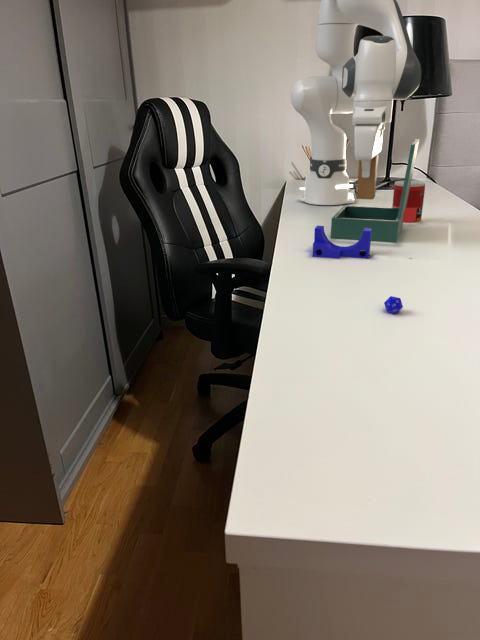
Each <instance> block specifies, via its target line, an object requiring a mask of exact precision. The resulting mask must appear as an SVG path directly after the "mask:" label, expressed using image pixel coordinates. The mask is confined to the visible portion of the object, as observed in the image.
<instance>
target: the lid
mask: <svg viewBox="0 0 480 640" xmlns="http://www.w3.org/2000/svg"><path fill="white" fill-rule="evenodd" d="M419 144H420V139H418V138H415V140H414V141H412V143H411V145H410V148H409V154H408V160H407V164H406V170H405V175H404V179H405V180H404V185H403V191H402V196H401V201H400V206H399V212H398V217H397V219H400V220H401V218H402V216H403V213H404V211H405V208H406V205H407V200H408V195H409V190H410V185H411V180H413V175H414V170H415V165H416V164H415V163H416V159H417V154H418V149H419Z"/></svg>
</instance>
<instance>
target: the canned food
mask: <svg viewBox="0 0 480 640" xmlns="http://www.w3.org/2000/svg"><path fill="white" fill-rule="evenodd" d="M403 185H404V180H402V181H396V182H394V185H393V186H394V187H393V196H392V197H393V198H392V207H391V208H399V206H400V201H401V196H402V191H403ZM425 191H426V182H425V181H422V180H415V179H414V180H413V179H412V180H411V185H410V190H409V195H408V200H407V205H406V208H405V211H404V217H403V224H404V223H406V224H407V223H408V224H413V223H415V224H416V223H419V222H422V216H423V208H424V199H425V193H426V192H425Z"/></svg>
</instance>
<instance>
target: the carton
mask: <svg viewBox="0 0 480 640" xmlns="http://www.w3.org/2000/svg"><path fill="white" fill-rule="evenodd" d="M379 155H380V154H377V155H376V156H375V157H373V158H372V159H371V167H370V169H371V170H370V176H369V177H368V178H363V177H362V164H361V161H362V160H358V169H357V170H358V172H357V183H356V184H357V185H356V187H357V194H356V199H357V200H374V199H375V197H376V191H377V189H376V187H377V178H378V169H379V168H378V167H379V166H378V165H379Z"/></svg>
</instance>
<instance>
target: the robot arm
mask: <svg viewBox="0 0 480 640" xmlns="http://www.w3.org/2000/svg"><path fill="white" fill-rule="evenodd" d="M356 25H358V26H362V27H366V28H369V29H372V30H375V31H377V32H379V33H380V34H381V35H367V36H365V37H363V38H361V39H360V41H359V45H358V50H357V54H356V55H355V53H354V47H355V46H354V45H355V42H354V41H355V30H356V29H355V27H356ZM316 26H317V29H316V45H315V49H316V50H315V51H316V55H317V56H318V58H319V59H320V60H321V61H322V62H323V63H325V64H327V65H329V67H330V69H331V75H325V76H324V75H321V76H319V75H318V76H308V77H304V78H301V79H298V80H297V81H296V82H295V83H294V85H293V87H292V90H291V92H290V93H291V94H290V100H291V101H290V102H291V105H292V107H293V109H294V110H295V111H296V113H298V114H299V115H300V116H301V117H302V118H303V119H304V121H306V122H305V123H306V124H307V126H308V128H309V129H308V130H309V132H310V136H311V137H310V138H311V158H310V160H309V161H310V162H309V171H310V172H309V174H307V175H306V176H305V179H304V187H299V190H301V191H302V190H303V191H304V194H303V196H301V197H299V202H303V203H306V204H310V205H314V206H315V205H317V206H339V205H345V204H354V203H355V196H354V194H356V195H357V185H356V184H357V182H356V180H355V181H354V180H350V177H349V175H348V174H347V171H346V170H347V164H348V162H347V158H346V152H347V150H346V149H347V135H346V133H345V131H344V129H342V128H341V127H339V126H338V125H335V124H334V123H333V120H332V116H331V115H336V114H352V119H351V124H352V125H353V126H354V130H353V131H354V132H353V134H354V135H353V136H354V140H353V141H354V159H355V160H356V161H359V160H362V161H361V164H362V177H363V178H368V177H369V176H370V170H371V169H370V167H371V159H372V158H373V157H375V156H376V155H379V153H381V152H382V149H383V138H384V137H383V136H384V131H385V130H386V124H388V123H391V122H392V118H393V117H392V116H393V106H394V100H397V101H405V100H407V99H408V98H410V97H411V96H412V95H413V94H414V93H415V92H416V91H417V90H418V88H419V87H420V84H421V80H422V65H421V63H420V61H419V60H420V59H418V57H417V55H416V53H415V50H414V48H413V46H412V42H411V39H410V36H409V33H408V29H407V26H406V23H405V19H404V16H403V12H402V11H401V8H400V5H399V3H398V1H397V0H320V2H319V7H318V15H317V25H316ZM402 180H405V178H399V179H394V180H389V181H386V182H383V183H381V184H378V185H376V190H378V189H379V188H381V187H384V186H385V185H388V184H387V183H388V182H389V184H393V183H395V182H396V181H402ZM352 190H354V193H352Z"/></svg>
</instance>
